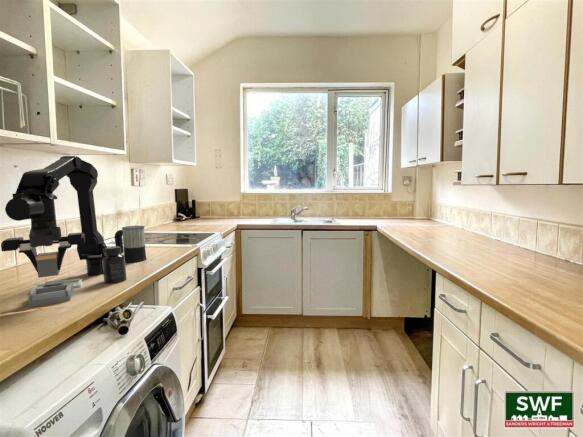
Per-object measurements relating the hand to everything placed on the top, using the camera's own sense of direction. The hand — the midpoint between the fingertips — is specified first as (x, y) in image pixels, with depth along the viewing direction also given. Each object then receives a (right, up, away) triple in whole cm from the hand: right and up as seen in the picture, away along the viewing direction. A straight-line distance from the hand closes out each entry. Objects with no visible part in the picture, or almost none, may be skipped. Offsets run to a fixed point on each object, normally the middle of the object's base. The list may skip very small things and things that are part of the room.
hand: (49, 271), depth 97 cm
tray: (-6, -8, +13) cm, 17 cm away
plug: (0, -1, 0) cm, 1 cm away
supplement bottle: (+9, -7, +19) cm, 22 cm away
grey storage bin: (-1, -9, +3) cm, 9 cm away
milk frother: (-2, -4, +49) cm, 49 cm away
